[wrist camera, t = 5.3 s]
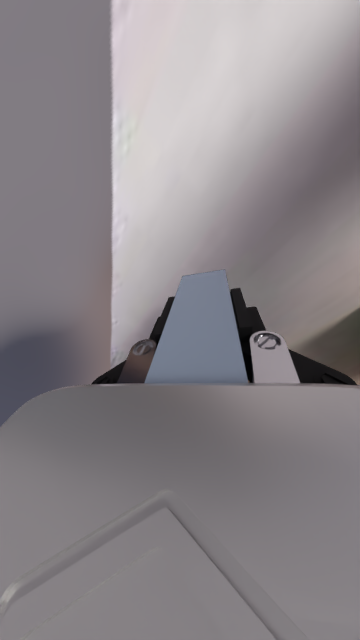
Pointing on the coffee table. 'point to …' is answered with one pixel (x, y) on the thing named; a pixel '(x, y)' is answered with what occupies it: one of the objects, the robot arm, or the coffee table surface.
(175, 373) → the slate plate
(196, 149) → the coffee table surface
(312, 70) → the coffee table surface
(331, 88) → the coffee table surface
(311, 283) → the coffee table surface
